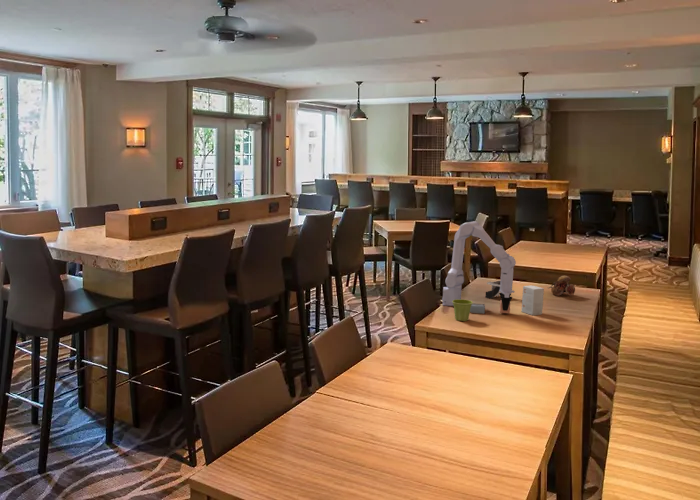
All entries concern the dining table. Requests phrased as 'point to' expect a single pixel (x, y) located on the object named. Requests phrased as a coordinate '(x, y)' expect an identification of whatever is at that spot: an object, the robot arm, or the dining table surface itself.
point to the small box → (532, 300)
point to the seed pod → (563, 286)
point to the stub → (502, 308)
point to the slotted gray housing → (477, 308)
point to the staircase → (493, 289)
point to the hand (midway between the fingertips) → (504, 308)
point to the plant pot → (462, 309)
